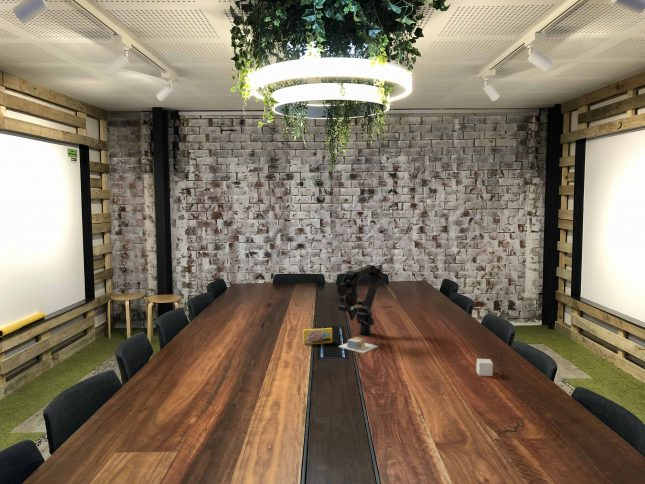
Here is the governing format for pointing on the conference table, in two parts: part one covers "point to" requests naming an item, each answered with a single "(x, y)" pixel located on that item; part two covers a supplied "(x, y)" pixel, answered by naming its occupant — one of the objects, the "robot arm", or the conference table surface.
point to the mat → (361, 350)
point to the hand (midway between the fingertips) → (351, 320)
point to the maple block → (355, 343)
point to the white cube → (484, 367)
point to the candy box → (317, 336)
